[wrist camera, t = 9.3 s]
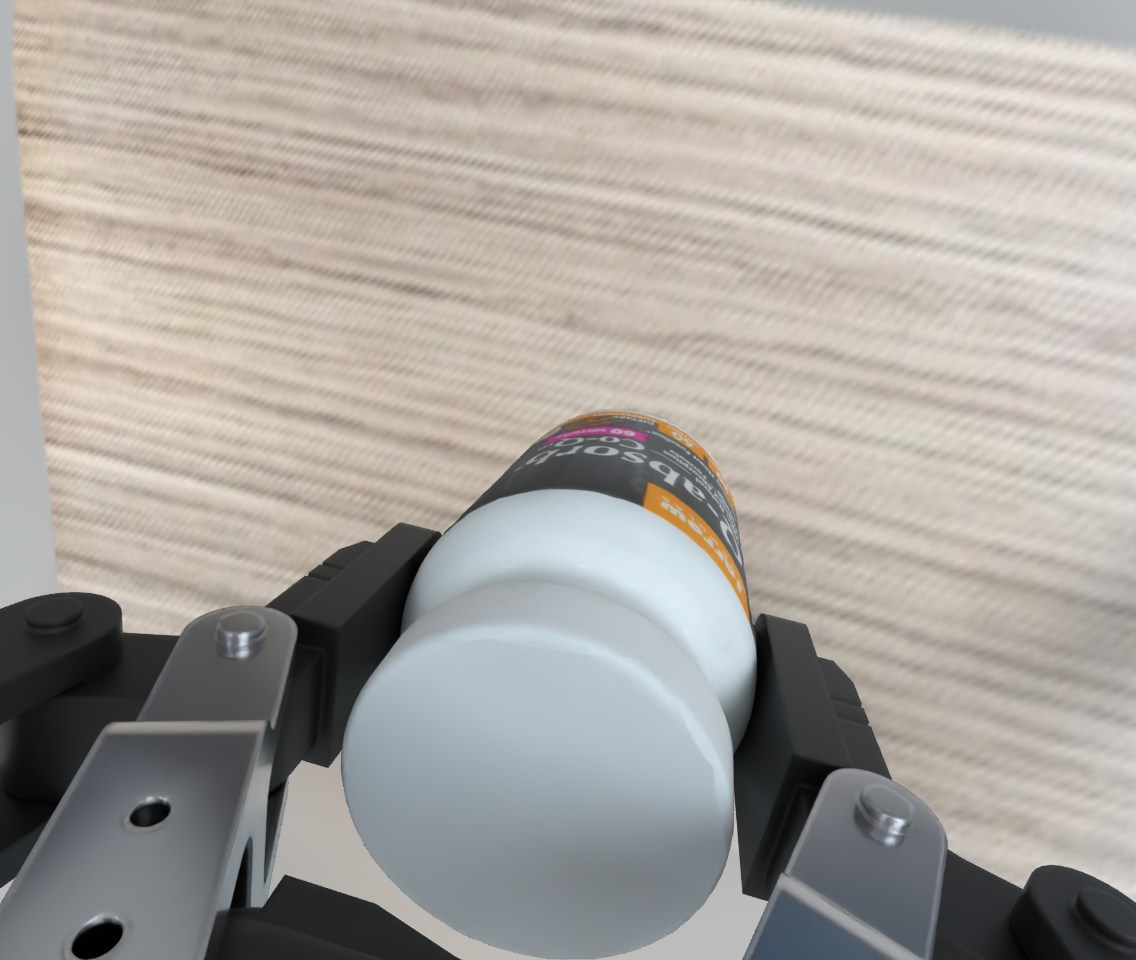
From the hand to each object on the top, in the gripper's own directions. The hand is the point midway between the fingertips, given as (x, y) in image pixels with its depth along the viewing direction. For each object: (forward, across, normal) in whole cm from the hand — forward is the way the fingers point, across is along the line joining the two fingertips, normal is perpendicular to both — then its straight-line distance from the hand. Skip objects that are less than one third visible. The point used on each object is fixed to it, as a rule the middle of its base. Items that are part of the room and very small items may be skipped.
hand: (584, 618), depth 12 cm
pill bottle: (+6, 0, 0) cm, 6 cm away
